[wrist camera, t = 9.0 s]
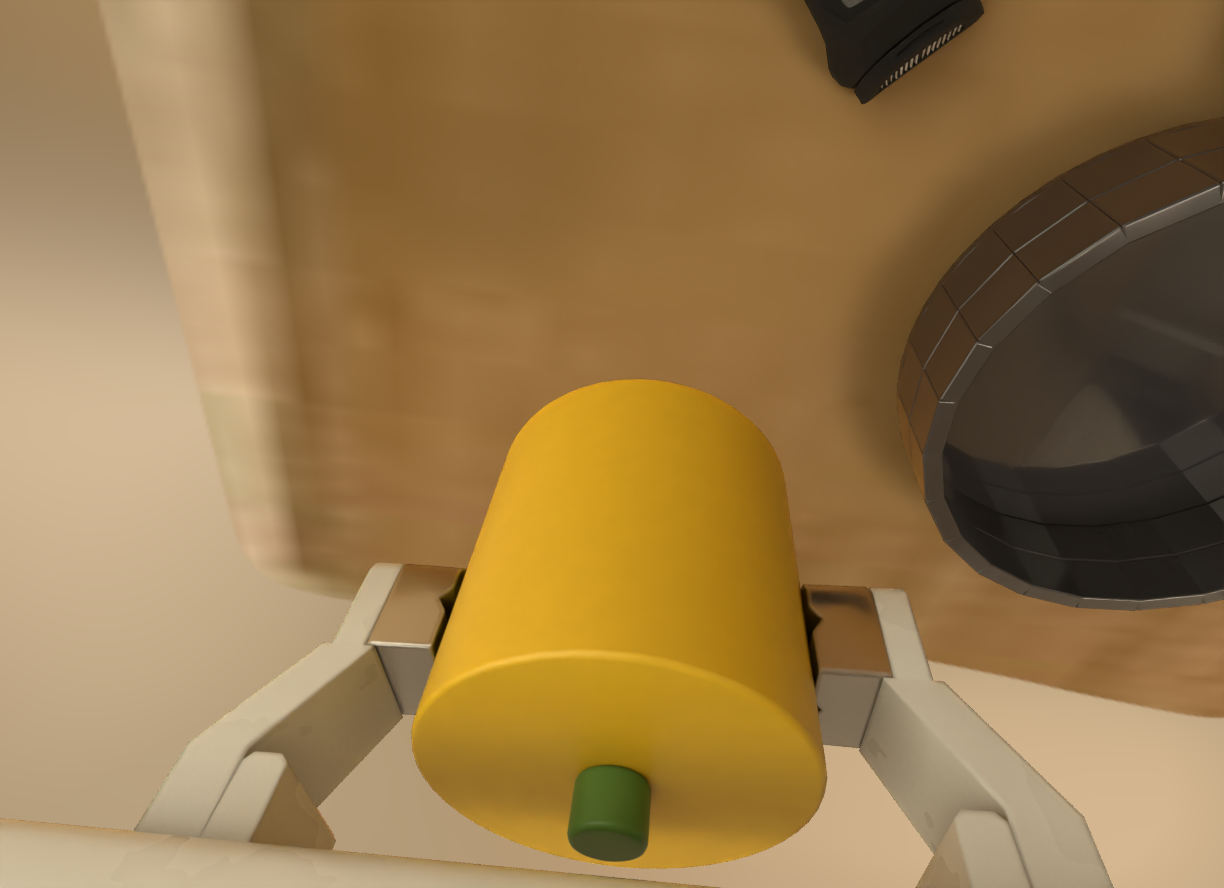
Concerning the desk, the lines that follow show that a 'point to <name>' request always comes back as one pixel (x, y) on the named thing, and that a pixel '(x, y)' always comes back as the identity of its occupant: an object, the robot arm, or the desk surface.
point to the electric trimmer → (886, 37)
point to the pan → (1084, 384)
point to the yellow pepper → (630, 641)
